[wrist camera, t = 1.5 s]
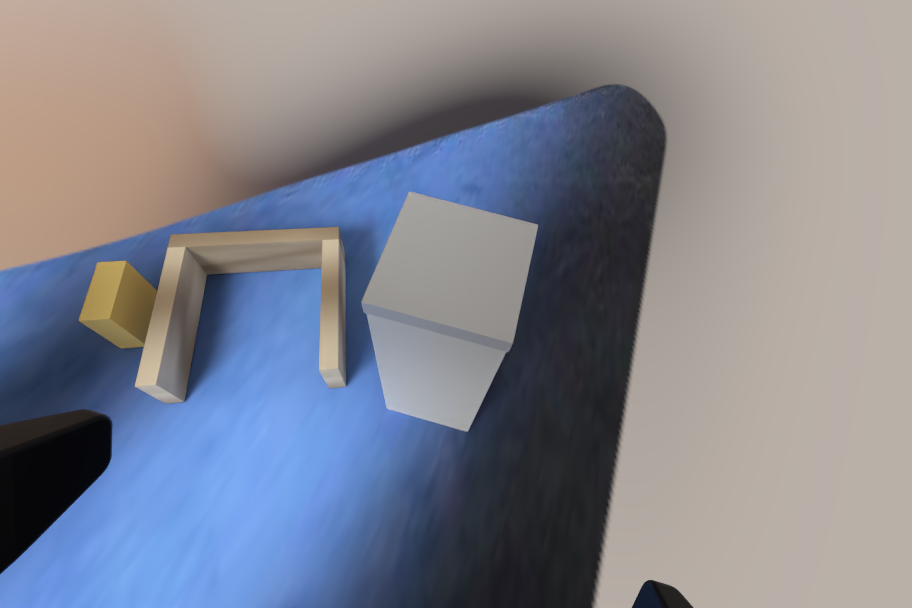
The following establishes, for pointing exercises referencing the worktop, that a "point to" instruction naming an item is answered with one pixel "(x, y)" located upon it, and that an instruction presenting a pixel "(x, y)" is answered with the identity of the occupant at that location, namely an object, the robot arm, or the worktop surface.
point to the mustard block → (119, 304)
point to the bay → (237, 254)
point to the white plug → (446, 306)
